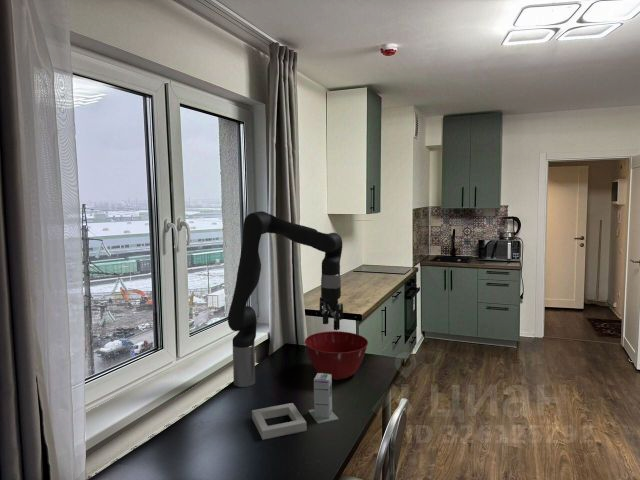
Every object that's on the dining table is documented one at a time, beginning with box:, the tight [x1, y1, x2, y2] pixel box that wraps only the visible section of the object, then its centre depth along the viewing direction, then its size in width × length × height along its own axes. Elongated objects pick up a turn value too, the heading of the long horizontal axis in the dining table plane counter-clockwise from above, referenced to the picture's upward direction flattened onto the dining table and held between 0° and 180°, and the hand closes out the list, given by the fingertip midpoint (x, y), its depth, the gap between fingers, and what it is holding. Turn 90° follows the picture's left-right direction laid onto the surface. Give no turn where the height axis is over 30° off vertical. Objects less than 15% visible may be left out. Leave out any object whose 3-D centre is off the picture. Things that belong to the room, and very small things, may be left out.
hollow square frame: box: [251, 402, 308, 441], centre depth 160 cm, size 16×16×3 cm
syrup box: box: [313, 372, 333, 418], centre depth 165 cm, size 6×6×14 cm
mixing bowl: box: [304, 330, 369, 381], centre depth 203 cm, size 28×28×15 cm
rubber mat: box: [307, 408, 340, 425], centre depth 166 cm, size 10×8×1 cm
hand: (331, 326), depth 174 cm, fingers open, 8 cm apart
